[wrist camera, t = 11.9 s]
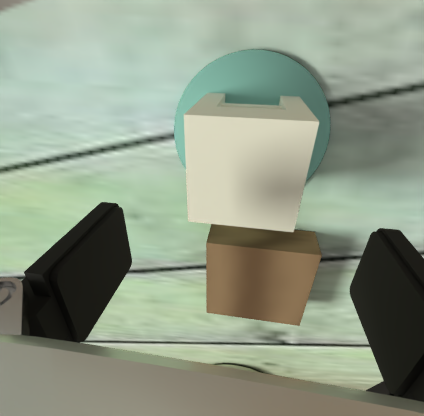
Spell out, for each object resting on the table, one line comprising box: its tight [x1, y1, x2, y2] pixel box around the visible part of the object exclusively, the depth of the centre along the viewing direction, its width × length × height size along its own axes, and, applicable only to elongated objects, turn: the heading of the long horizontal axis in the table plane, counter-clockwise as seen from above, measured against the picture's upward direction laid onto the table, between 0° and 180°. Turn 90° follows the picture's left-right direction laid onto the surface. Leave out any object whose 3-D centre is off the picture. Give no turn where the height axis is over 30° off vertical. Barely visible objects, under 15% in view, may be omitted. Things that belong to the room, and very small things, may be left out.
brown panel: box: [206, 224, 322, 326], centre depth 24 cm, size 9×9×3 cm
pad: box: [174, 49, 330, 181], centre depth 19 cm, size 11×11×1 cm
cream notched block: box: [184, 93, 319, 232], centre depth 16 cm, size 6×6×7 cm
